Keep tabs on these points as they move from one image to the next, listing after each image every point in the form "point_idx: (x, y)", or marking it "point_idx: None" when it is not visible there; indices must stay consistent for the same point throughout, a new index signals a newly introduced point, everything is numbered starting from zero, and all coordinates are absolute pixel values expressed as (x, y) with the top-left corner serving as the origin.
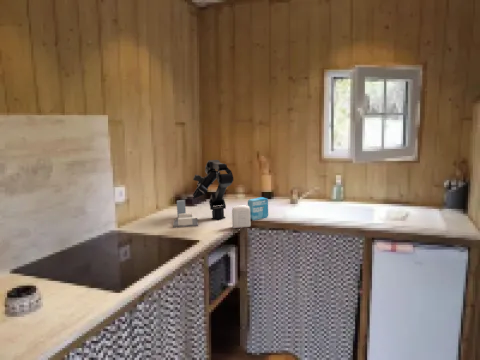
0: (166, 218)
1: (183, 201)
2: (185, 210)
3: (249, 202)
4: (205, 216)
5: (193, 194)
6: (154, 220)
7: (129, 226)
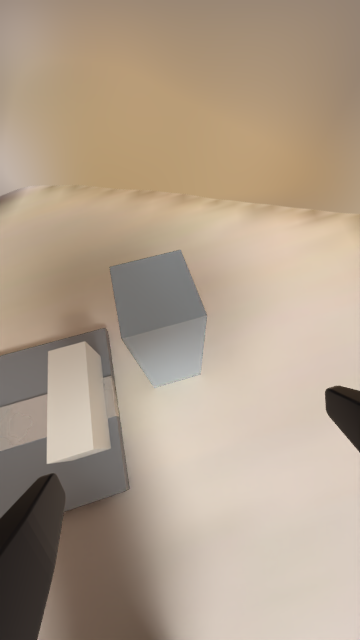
0: None
1: (120, 324)
2: (160, 368)
3: None
4: (227, 553)
5: (340, 400)
6: (130, 246)
7: (54, 204)
